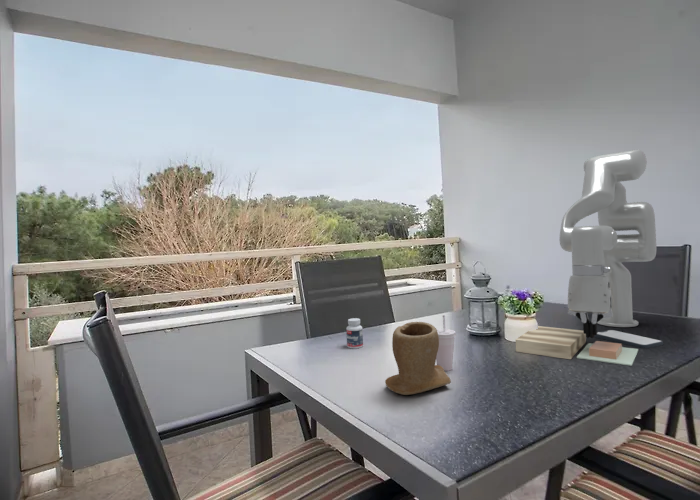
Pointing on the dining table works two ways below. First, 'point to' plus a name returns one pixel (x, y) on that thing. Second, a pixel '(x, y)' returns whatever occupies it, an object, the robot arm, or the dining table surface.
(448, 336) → the smoothie
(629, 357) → the mat
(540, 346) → the block
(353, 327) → the pill bottle
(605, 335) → the phone case
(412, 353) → the stone cup
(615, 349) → the tile
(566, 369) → the dining table surface
